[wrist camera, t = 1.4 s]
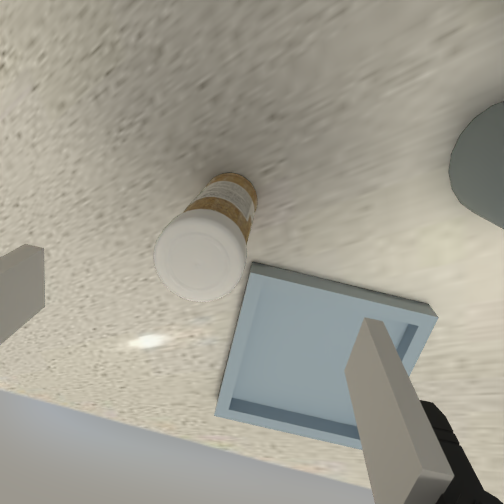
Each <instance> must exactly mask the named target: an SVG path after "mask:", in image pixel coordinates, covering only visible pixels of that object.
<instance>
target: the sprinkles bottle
mask: <svg viewBox="0 0 504 504" xmlns="http://www.w3.org/2000/svg"><path fill="white" fill-rule="evenodd" d="M256 208H257V195H256V192H255V189H254V187H253V186H252V184H251V183H250V182H249V181H248V180H247V179H246V178H244V177H242V176H240V175H238V174H234V173H225V174H221V175H218V176H216V177H214V178H213V179H212V180H211V181H210V182H209V183H208V184H207V186H206V188H205V189H203V191H202V192H201V193H200V194H199V195H198V196H197V197H196V198H195V199H194V200H193V201H192V202H191V203H190V204H189V206H188V207H187V208H186V209H185V210H184V212H183V213H182V214H180V215H178V216H177V217H175V218H174V219H173V220H172V221H171V222H170V223H169V224H168V225H167V226H166V227H165V229H164V230H163V231H162V233H161V234H160V235H159V237H158V239H157V241H156V244H155V247H154V254H153V259H154V266H155V269H156V272H157V275H158V276H159V278H160V280H161V281H162V283H163V284H164V285H165V286H166V287H167V288H168V289H169V290H170V291H171V292H173V293H174V294H176V295H177V296H179V297H181V298H183V299H186V300H190V301H194V302H209V301H214V300H217V299H220V298H222V297H224V296H226V295H227V294H228V293H230V292H231V291H232V290H233V289H234V288H235V287H236V286H237V284H238V283H239V281H240V279H241V277H242V274H243V271H244V267H245V263H246V258H247V247H246V245H247V241H248V237H249V233H250V231H251V228H252V224H253V219H254V213H255V211H256Z"/></svg>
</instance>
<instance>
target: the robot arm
mask: <svg viewBox="0 0 504 504" xmlns="http://www.w3.org/2000/svg"><path fill="white" fill-rule="evenodd" d="M44 307H45V281H44V248H41V247H37V246H32V245H28V244H24V245H22V246H20V247H19V248H17V249H15V250H13V251H11V252H10V253H8V254H6V255H4V256H2V257H0V345H1V344H2V343H3V342H4V341H5V340H7V339H8V338H9V337H10V336H11V335H12V334H14V333H15V332H16V331H17V330H18V329H19V328H21V327H22V326H23V325H24V324H25V323H26V322H27V321H29V320H30V319H31V318H32V317H33V316H34V315H36V314H37V313H38V312H39V311H40V310H41V309H43V308H44ZM344 372H345V376H346V381H347V385H348V389H349V394H350V398H351V402H352V406H353V411H354V415H355V419H356V424H357V428H358V432H359V437H360V441H361V445H362V449H363V454H364V458H365V462H366V467H367V471H368V475H369V480H370V484H371V488H372V492H373V497H374V501H375V504H503V503H502V502H501V501H500V500H499V499H497V498H496V497H495V496H493V495H491V494H490V493H488V492H486V491H484V489H483V487H482V485H481V483H480V481H479V480H478V478H477V476H476V474H475V472H474V470H473V468H472V466H471V464H470V462H469V460H468V458H467V457H466V455H465V453H464V451H463V449H462V447H461V446H459V441H458V439H457V437H456V436H455V434H453V430H452V428H451V426H450V424H449V422H448V420H447V418H446V416H445V415H444V414H443V413H442V412H441V411H440V410H439V409H438V408H437V407H436V406H435V405H434V403H431V402H427V401H422V400H419V398H418V396H417V394H416V392H415V389H414V387H413V385H412V383H411V381H410V379H409V376H408V374H407V372H406V370H405V368H404V366H403V364H402V361H401V359H400V357H399V355H398V353H397V351H396V348H395V346H394V344H393V342H392V340H391V338H390V335H389V333H388V331H387V329H386V327H385V325H384V322H383V321H379V320H375V319H370V318H365V317H364V320H363V322H362V325H361V327H360V330H359V333H358V335H357V338H356V341H355V343H354V346H353V349H352V351H351V354H350V357H349V359H348V362H347V365H346V367H345V370H344Z"/></svg>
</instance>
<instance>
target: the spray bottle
mask: <svg viewBox="0 0 504 504" xmlns="http://www.w3.org/2000/svg"><path fill="white" fill-rule="evenodd" d="M449 176H450V181H451V187H452V190H453V192H454V193H455V195H456V196H457V198H458V200H459V201H460V203H461V204H463V205H464V206H465V207H467V208H468V209H469V210H471V211H472V212H474V213H475V214H477V215H479V216H481V217H483V218H484V219H486V220H488V221H490V222H492V223H493V224H495V225H497V226H499V227H501V228H503V229H504V102H501V103H498V104H495V105H493V106H491V107H490V108H488V109H487V110H486V111H484V112H483V113H481V114H480V115H478V116H477V117H476V118H474V119H473V121H472V122H471V123H470V124H469V125H468V126H467V128H466V129H465V130H464V131H463V132H462V133H461V135H460V137H459V139H458V141H457V143H456V145H455V147H454V149H453V151H452V154H451V160H450V167H449Z"/></svg>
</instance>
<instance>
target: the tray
mask: <svg viewBox="0 0 504 504" xmlns="http://www.w3.org/2000/svg"><path fill="white" fill-rule="evenodd" d="M364 317H365V318H370V319H375V320H379V321H383V322H384V325H385V327H386V329H387V331H388V333H389V335H390V338H391V340H392V342H393V344H394V346H395V348H396V351H397V353H398V355H399V357H400V359H401V361H402V364H403V366H404V368H405V370H406V372H407V374H408V376H410V374H411V372H412V370H413V368H414V366H415V364H416V362H417V360H418V358H419V356H420V354H421V352H422V350H423V348H424V346H425V344H426V342H427V340H428V337H429V335H430V333H431V331H432V329H433V327H434V325H435V323H436V321H437V319H438V316H437V315H436V313H435V312H434V311H433V309H432V308H431V307H430V305H429V304H426V303H422V302H418V301H413V300H409V299H405V298H401V297H397V296H393V295H388V294H384V293H380V292H376V291H372V290H368V289H363V288H359V287H355V286H351V285H347V284H343V283H338V282H334V281H330V280H326V279H322V278H318V277H313V276H309V275H305V274H301V273H297V272H293V271H288V270H284V269H280V268H276V267H272V266H268V265H264V264H259V263H255V262H252V266H251V270H250V273H249V277H248V281H247V285H246V289H245V293H244V297H243V301H242V305H241V309H240V313H239V317H238V321H237V325H236V329H235V333H234V337H233V341H232V345H231V349H230V352H229V356H228V360H227V364H226V368H225V372H224V376H223V380H222V384H221V388H220V392H219V396H218V400H217V405H216V410H215V414H214V416H217V417H222V418H226V419H230V420H235V421H239V422H243V423H248V424H252V425H256V426H261V427H265V428H269V429H274V430H278V431H282V432H287V433H291V434H295V435H300V436H304V437H308V438H313V439H317V440H321V441H326V442H330V443H334V444H339V445H343V446H347V447H352V448H356V449H360V450H363V449H362V445H361V441H360V437H359V432H358V428H357V424H356V419H355V415H354V411H353V406H352V402H351V398H350V394H349V389H348V385H347V381H346V376H345V372H344V370H345V367H346V365H347V362H348V359H349V357H350V354H351V351H352V349H353V346H354V343H355V341H356V338H357V335H358V333H359V330H360V327H361V325H362V322H363V320H364Z"/></svg>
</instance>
